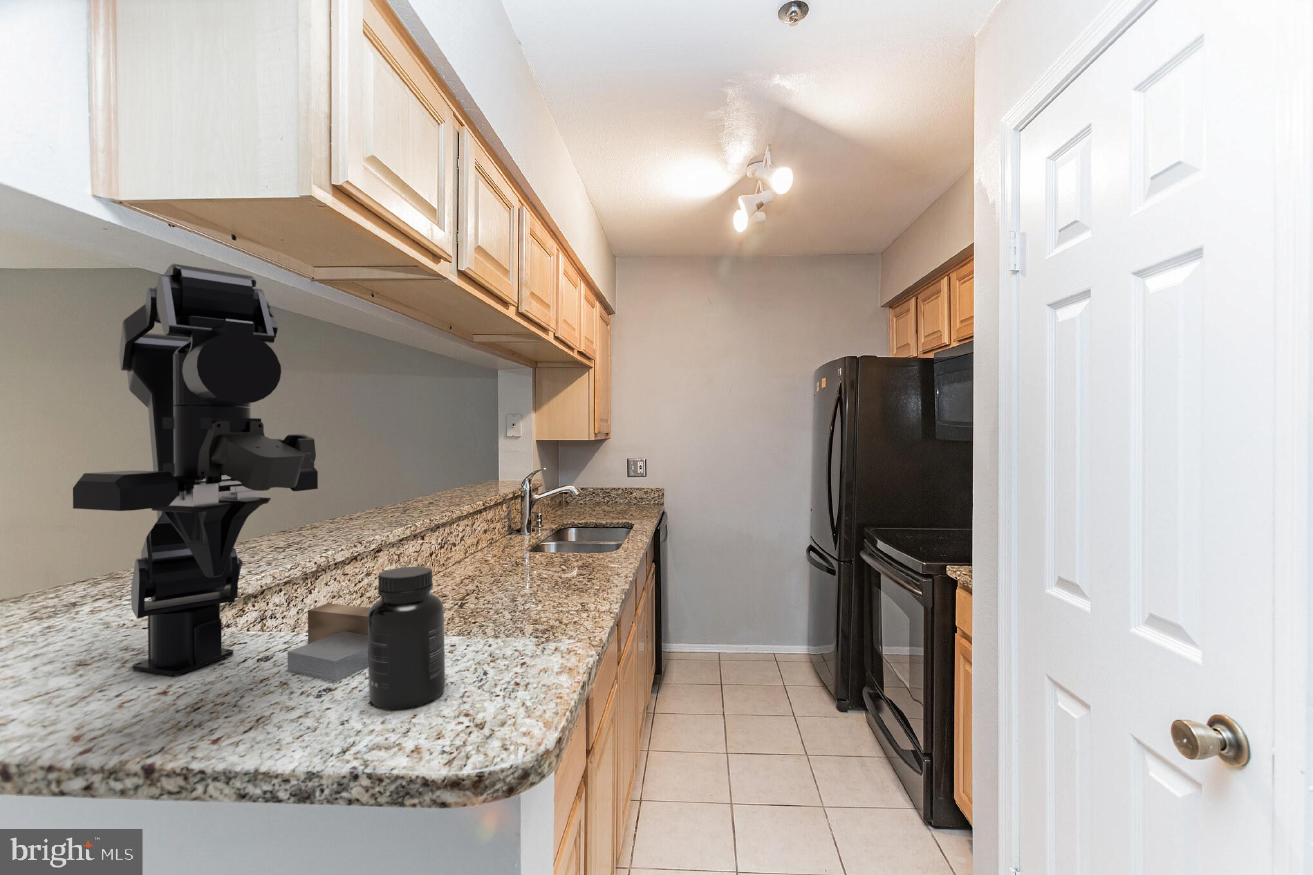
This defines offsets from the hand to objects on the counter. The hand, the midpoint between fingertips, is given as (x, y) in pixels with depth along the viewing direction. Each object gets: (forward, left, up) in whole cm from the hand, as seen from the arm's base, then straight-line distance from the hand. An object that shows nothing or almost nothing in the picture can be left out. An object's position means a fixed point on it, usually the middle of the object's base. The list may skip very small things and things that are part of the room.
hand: (214, 576), depth 56 cm
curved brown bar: (+2, +17, -12) cm, 21 cm away
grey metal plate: (+3, +11, -12) cm, 17 cm away
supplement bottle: (+15, +7, -12) cm, 21 cm away
